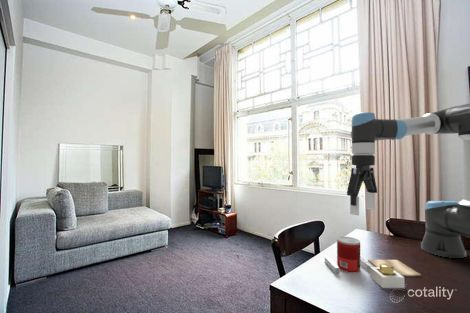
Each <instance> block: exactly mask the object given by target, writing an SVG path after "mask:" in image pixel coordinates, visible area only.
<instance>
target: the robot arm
mask: <svg viewBox="0 0 470 313" xmlns="http://www.w3.org/2000/svg"><path fill="white" fill-rule="evenodd" d="M420 134H421V135H422V134H425V135H429V136H430V135H439V134H440V135H441V134H442V135H443V134H447V135H449V134H450V135H451V134H457V135H458V136H457V137H458V138H460V139H461V140H462V141H463V142H462V143H463V144H462V145H463V146H462V147H463V151H462V154H463V155H462V157H463V158H462V199H461V200H460V201H456V200H455V201H453V200H428V201H426V203H425V209H424V215H425V217H424V219H425V233H424V235H423V238H422V241H421V242H420V249H421V250H422V251H424V252H426V253H428V254H430V253H431V255H433V254H434V256H436V255H438V256H437V257H440V256H442V257H441V258H445V257H449V258H448V259H451V258H463V257H466V258H467V250H466V249H465V246H464V243H463V241H462V239H461V238H462V237H463V236H464V237H467V238H470V102H469V103H465V104H460V105H456V106H451V107H447V108H444V109H441V110H438V111H433V112H428V113H425V114H424V115H422V116H415V117H409V118H402V119H395V118H394V119H384V118H383V119H382V118H376V114H375V113H374V112H370V111H367V112H366V111H365V112H358V113H357V112H356V113H355V114H353V115H352V117H351V131H350V138H351V146H350V148H351V154H353V155H351V166H355V167H351V170H350V176H349V181H348V182H349V183H348V184H347V189H346V196H350V198H349V215H353V216H360V196H359V193H360V190H361V188H362V184H363V183H364V186H365V189H366V192H365V210H371V211H375V194H377V193H378V188H377V187H378V186H377V183H376V182H377V181H376V176H375V173H374V172H375V168H374V167H371V166H375V163H376V158H375V157H376V156H375V154H376V142H377V141H387V140H388V141H389V140H392V141H395V140H401V139H403V138H404V137H407V136H413V135H414V136H415V135H420ZM461 236H462V237H461Z"/></svg>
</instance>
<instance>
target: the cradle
mask: <svg viewBox="0 0 470 313" xmlns="http://www.w3.org/2000/svg"><path fill="white" fill-rule="evenodd" d="M324 263H325V265H326V266H327V267H328V269H330V270H331V271H332V272H333V274H334V275H335V276H341V275H340V273H341V271H340V270H341V269H340V268H339V267H338V265H337V264H336V262H334V261H333V259H332V258H330V256H329V255H328V256H327V255H324ZM361 267H362V269H364V270H365V271H366V272H367V273H369V274H370V267H374V265H372V264H371V263H370V262H368V260H366V259H365V258H363V257H362V256H361V255H360V268H361Z"/></svg>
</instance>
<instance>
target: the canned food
mask: <svg viewBox="0 0 470 313" xmlns="http://www.w3.org/2000/svg"><path fill="white" fill-rule="evenodd" d="M336 248H337V249H336V262H337V264H336V265H337V266H338V267H339V268H340V270H341V271H343V272H346V273H351V274H354V273H356V274H357V273H359V272H360V271H361V266H360V256H361V241H360V240H359V239H358V238H355V237H352V236H351V237H350V236H338V237H337V238H336Z"/></svg>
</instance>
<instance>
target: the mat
mask: <svg viewBox="0 0 470 313" xmlns="http://www.w3.org/2000/svg"><path fill="white" fill-rule="evenodd" d="M367 262H368V263H370V264H371V265H372V266H373V267H380V264H382V263H384V264H389V265H391V266H393V267H394V270H395V271H396V272H397V273H399V274H400V275H402V276H403V277H421V276H422V273H420V272H417V271H416V270H414V269H413V268H411V267H410V266H407V265H406V264H405V263H403V262H402V261H400V260H398V259H368V260H367Z"/></svg>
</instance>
